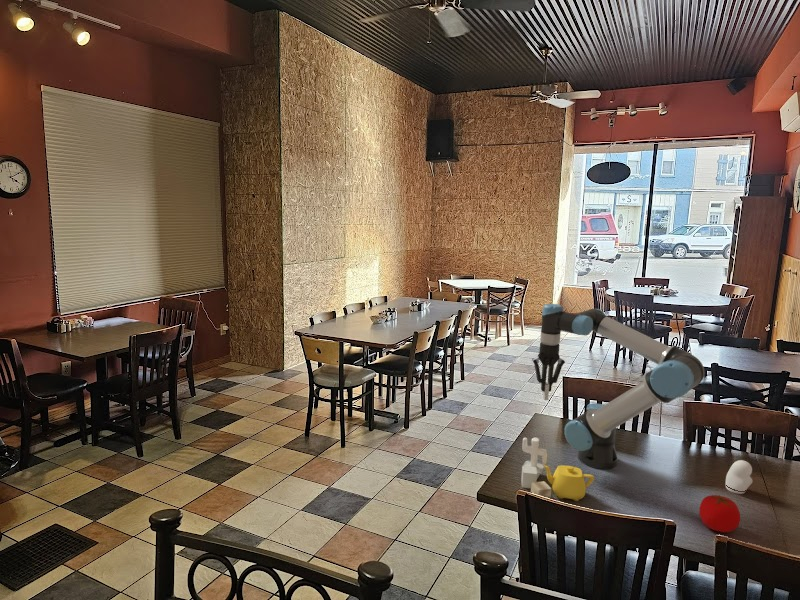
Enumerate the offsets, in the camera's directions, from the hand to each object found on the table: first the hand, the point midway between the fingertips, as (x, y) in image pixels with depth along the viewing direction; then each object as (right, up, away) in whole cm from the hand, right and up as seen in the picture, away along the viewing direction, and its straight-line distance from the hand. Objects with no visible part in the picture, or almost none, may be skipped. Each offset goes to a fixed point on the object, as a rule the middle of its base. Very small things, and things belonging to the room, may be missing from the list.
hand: (545, 398), depth 214 cm
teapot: (+1, -30, -25) cm, 39 cm away
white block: (-11, -28, -19) cm, 36 cm away
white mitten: (+66, -30, -19) cm, 75 cm away
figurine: (-8, -27, -12) cm, 31 cm away
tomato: (+45, -34, -42) cm, 70 cm away
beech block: (-9, -30, -28) cm, 42 cm away
